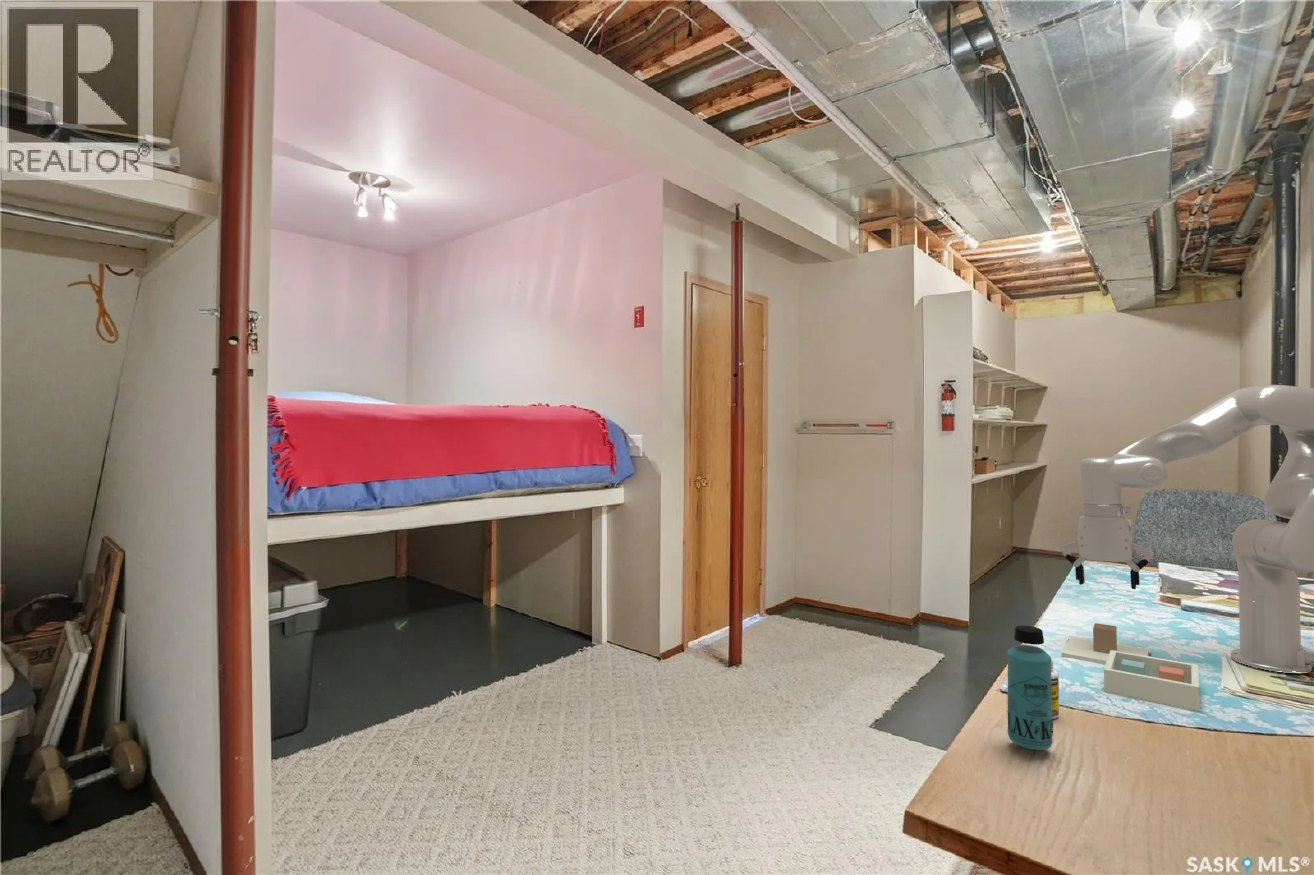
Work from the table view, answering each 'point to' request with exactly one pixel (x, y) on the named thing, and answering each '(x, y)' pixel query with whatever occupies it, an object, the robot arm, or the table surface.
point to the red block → (1171, 674)
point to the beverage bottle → (1029, 691)
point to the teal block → (1133, 667)
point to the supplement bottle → (1055, 692)
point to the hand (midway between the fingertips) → (1107, 585)
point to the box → (1152, 681)
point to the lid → (1098, 645)
